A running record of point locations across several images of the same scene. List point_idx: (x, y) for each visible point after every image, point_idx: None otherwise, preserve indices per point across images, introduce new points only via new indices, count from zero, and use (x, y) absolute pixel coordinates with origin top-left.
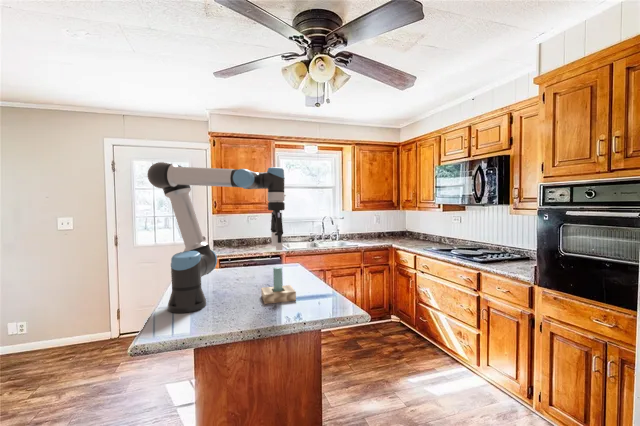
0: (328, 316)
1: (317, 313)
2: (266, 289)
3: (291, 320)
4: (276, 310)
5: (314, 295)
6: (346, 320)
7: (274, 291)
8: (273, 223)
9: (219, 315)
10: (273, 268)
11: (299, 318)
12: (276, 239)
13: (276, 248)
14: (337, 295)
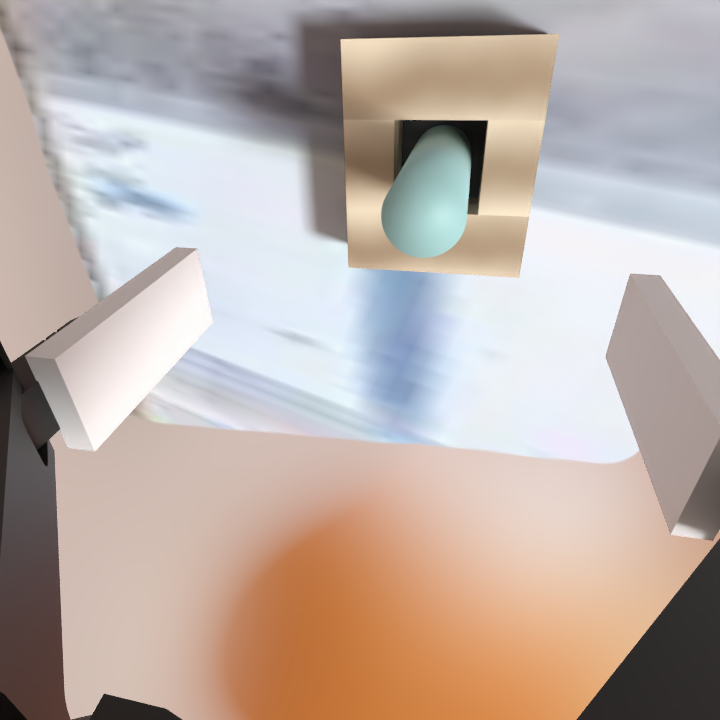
0: None
1: None
2: (483, 76)
3: (87, 153)
4: (228, 103)
5: (421, 359)
6: None
7: (426, 136)
8: (586, 714)
9: None
10: (424, 173)
11: (110, 195)
12: (78, 322)
13: (164, 260)
14: (380, 441)
